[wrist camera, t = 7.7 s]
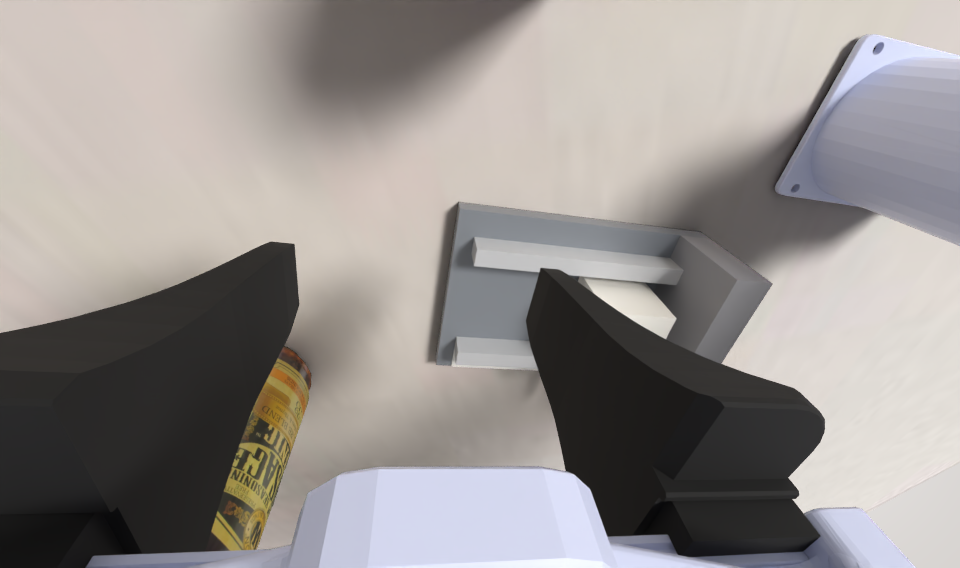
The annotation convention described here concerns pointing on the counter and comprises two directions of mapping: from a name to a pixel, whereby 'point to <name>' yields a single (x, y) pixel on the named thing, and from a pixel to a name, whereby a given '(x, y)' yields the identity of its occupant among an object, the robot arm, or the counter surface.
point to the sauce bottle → (262, 456)
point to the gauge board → (589, 253)
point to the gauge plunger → (633, 302)
